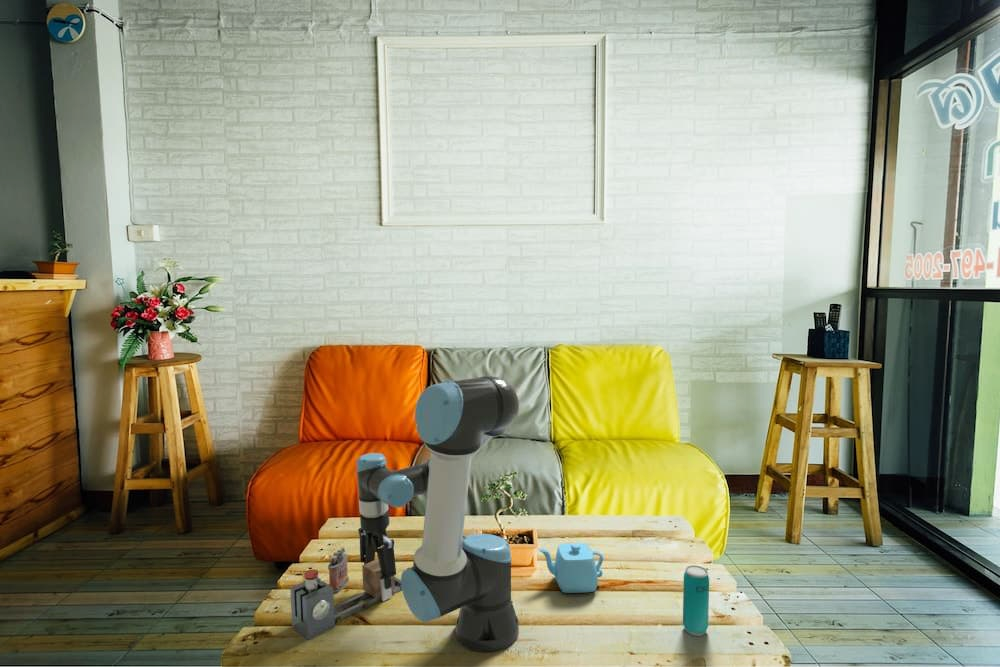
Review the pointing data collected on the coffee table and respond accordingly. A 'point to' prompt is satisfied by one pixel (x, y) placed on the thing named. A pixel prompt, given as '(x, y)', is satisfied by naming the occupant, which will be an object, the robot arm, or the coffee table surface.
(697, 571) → the beverage can
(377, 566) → the carriage
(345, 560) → the red pack with sticks
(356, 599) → the rail track
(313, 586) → the gauge plunger
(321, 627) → the gauge cabinet
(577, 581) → the teapot
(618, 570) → the coffee table surface
